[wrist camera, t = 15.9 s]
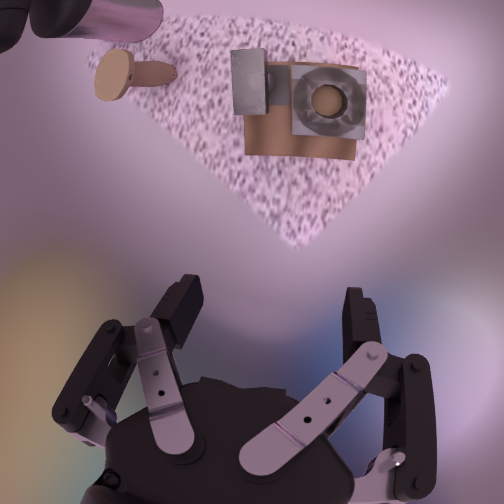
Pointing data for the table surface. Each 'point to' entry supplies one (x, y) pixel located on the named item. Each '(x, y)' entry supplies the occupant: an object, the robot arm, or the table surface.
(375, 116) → the table surface
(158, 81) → the handle
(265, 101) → the hammer
